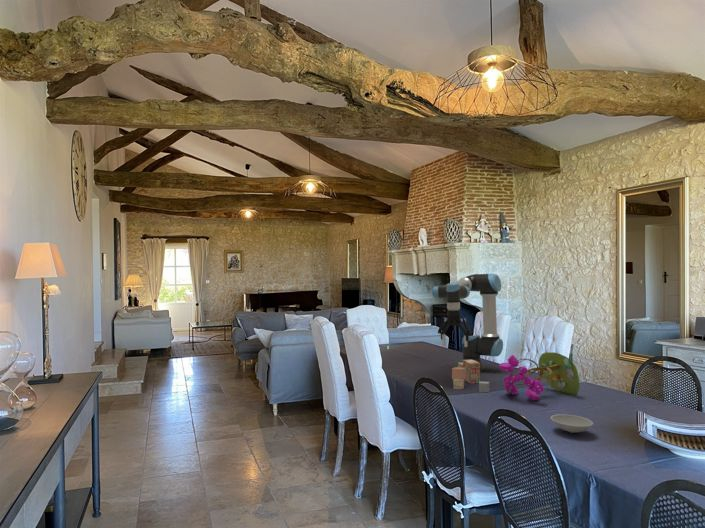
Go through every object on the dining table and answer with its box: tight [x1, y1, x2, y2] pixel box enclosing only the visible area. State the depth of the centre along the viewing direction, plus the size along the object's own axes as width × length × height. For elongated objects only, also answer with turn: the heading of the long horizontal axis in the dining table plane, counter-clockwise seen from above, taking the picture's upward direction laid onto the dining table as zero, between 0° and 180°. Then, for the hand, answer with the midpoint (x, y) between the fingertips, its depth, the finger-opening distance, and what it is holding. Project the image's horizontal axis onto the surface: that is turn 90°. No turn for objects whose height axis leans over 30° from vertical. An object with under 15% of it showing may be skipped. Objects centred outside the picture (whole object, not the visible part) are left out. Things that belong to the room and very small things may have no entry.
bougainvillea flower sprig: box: [498, 351, 580, 401], centre depth 264 cm, size 30×28×35 cm
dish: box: [550, 413, 594, 434], centre depth 202 cm, size 18×14×5 cm
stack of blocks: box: [456, 359, 481, 384], centre depth 309 cm, size 21×6×12 cm, turn 9°
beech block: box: [452, 379, 465, 390], centre depth 289 cm, size 9×6×5 cm, turn 164°
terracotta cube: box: [451, 366, 466, 380], centre depth 289 cm, size 6×6×6 cm
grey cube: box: [478, 380, 490, 394], centre depth 277 cm, size 5×5×5 cm
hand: (454, 346), depth 294 cm, fingers open, 13 cm apart
